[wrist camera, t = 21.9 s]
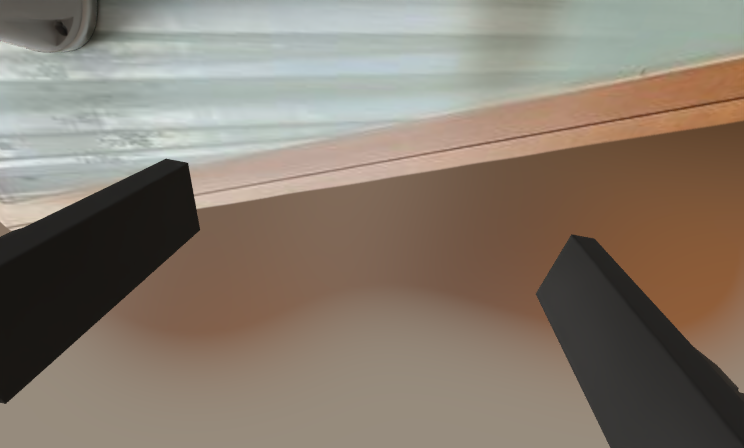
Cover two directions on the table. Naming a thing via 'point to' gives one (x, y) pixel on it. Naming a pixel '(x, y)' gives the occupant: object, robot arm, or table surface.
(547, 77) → the table surface
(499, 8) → the table surface
